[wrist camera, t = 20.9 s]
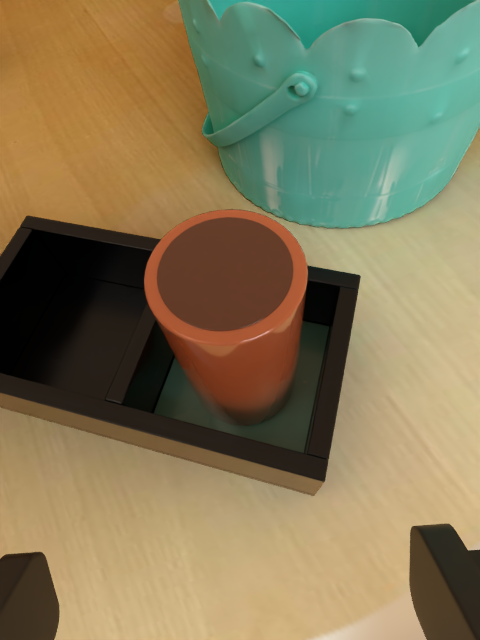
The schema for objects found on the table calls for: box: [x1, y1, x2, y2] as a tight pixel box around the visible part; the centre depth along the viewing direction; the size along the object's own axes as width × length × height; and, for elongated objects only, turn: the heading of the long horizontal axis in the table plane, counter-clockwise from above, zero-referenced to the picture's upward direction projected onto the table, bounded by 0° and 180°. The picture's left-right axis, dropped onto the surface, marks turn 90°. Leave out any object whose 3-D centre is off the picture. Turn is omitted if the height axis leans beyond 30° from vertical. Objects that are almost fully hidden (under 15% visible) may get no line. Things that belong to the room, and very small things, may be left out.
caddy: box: [0, 216, 360, 496], centre depth 21 cm, size 9×17×5 cm, turn 74°
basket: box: [178, 0, 480, 228], centre depth 24 cm, size 19×18×13 cm
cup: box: [144, 209, 308, 426], centre depth 17 cm, size 5×5×9 cm
